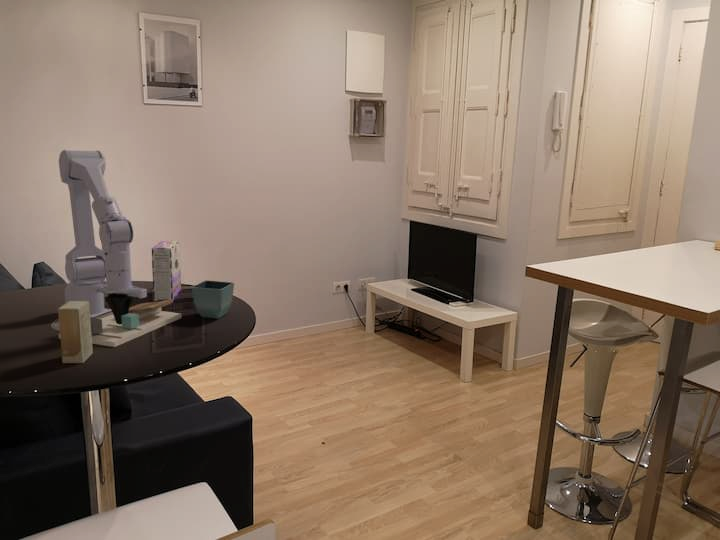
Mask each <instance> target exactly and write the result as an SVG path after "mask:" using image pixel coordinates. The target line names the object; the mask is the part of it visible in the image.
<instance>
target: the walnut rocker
mask: <svg viewBox="0 0 720 540" xmlns="http://www.w3.org/2000/svg"><path fill="white" fill-rule="evenodd" d="M173 303H174V300H165V301H153V302H152V301H151V302H143V303H138V304H135V305H132V306H130V308H129V311H128V313H138V312H146V311H153V310H155V309H158V308H160V307H161V308H163V307H165V306H168V305H171V304H173Z"/></svg>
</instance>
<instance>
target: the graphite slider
mask: <svg viewBox="0 0 720 540" xmlns="http://www.w3.org/2000/svg"><path fill="white" fill-rule="evenodd" d="M90 323H91V334H92V335H95V334H97V333H100V332H102V331H103V330H102V319H101V318H96V317H93V318H90Z"/></svg>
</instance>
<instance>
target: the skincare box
mask: <svg viewBox="0 0 720 540" xmlns="http://www.w3.org/2000/svg"><path fill="white" fill-rule="evenodd" d="M57 312H58V315H57V316H58V324H59V334H60V338H61V339H60V348H61V358H62V359H61V360H62V364H84V363H85V362H86V360H88V358H90V357H91V356H92V354H94V352H93V344H92V336H91V323H90V319H91V318H90V309H89V301H69V302H67V303H66V304H65V303H64V304H63V305H61V306H60V307H59V308H57Z"/></svg>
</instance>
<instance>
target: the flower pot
mask: <svg viewBox="0 0 720 540" xmlns="http://www.w3.org/2000/svg"><path fill="white" fill-rule="evenodd" d="M234 288H235V283H234V282H230V281H217V280H203V281H201V282H199V283H197V284H195V285H193V286H192V287H191V292H192V293H191V294H192V299H193V304H194V306H195V309H196V311H197V313H198V314H199V316H201V317H202V318H209V319H220V318H222V317H223V316H224V315H226V314H227V313H228V311H229V310H230V308H231V304H232V302H233V296H234Z"/></svg>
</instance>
